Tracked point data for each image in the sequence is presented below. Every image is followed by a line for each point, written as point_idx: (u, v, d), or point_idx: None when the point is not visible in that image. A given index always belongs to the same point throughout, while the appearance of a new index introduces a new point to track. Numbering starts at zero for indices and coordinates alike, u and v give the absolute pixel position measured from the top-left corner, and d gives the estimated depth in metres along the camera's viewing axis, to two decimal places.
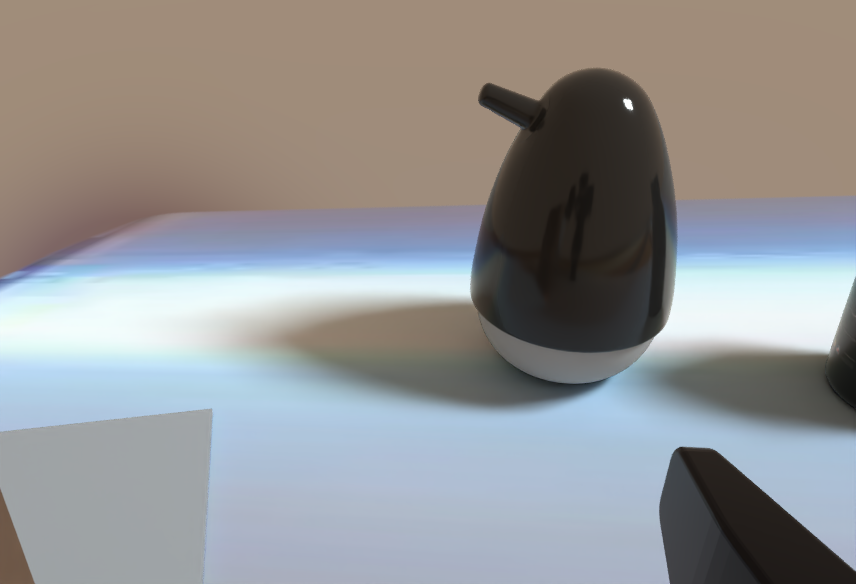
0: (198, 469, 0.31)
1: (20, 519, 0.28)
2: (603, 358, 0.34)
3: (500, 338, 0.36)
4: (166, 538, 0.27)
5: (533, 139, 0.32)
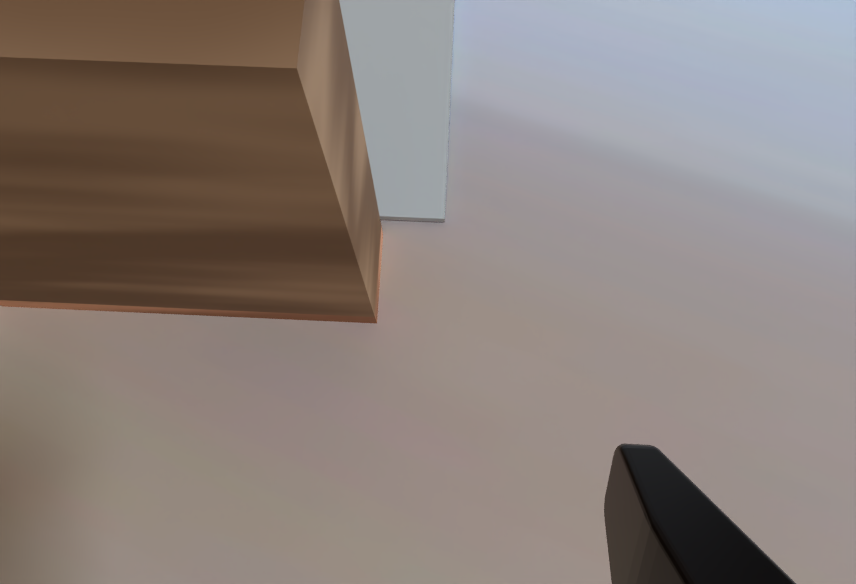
0: None
1: None
2: None
3: None
4: None
5: None
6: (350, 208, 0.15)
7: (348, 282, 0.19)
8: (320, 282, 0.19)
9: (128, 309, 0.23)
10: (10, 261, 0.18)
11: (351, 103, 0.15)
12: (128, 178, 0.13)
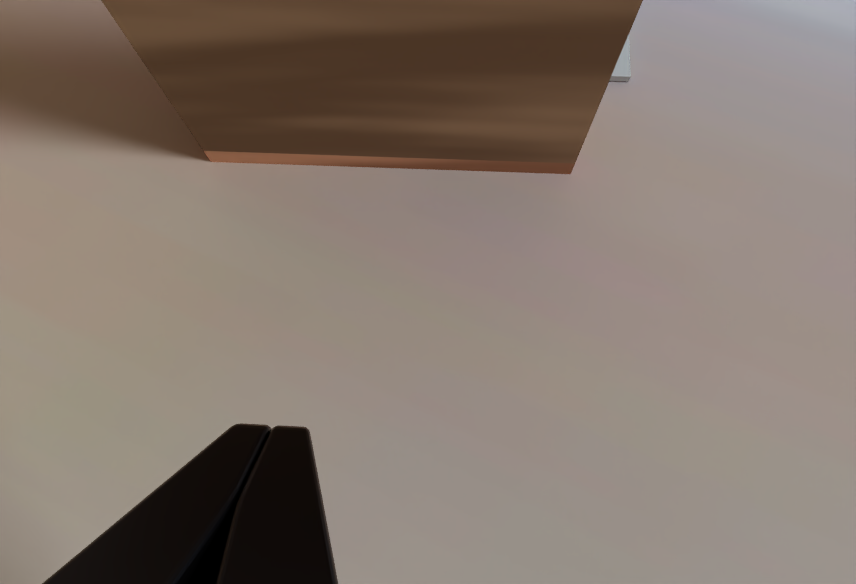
0: None
1: None
2: None
3: None
4: None
5: None
6: None
7: (583, 105, 0.20)
8: (554, 107, 0.20)
9: (334, 161, 0.24)
10: (267, 85, 0.20)
11: None
12: None
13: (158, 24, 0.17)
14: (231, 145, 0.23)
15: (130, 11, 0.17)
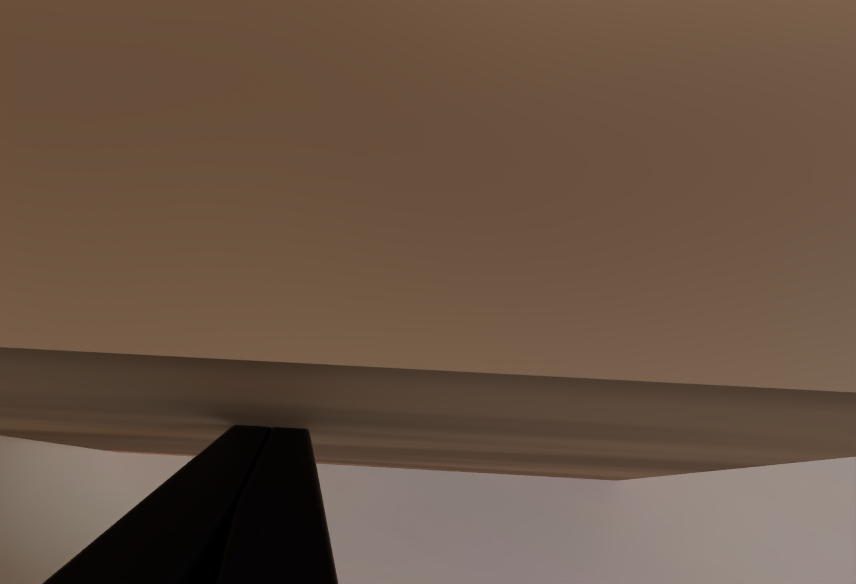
0: None
1: None
2: None
3: None
4: None
5: None
6: None
7: (652, 473, 0.13)
8: (607, 471, 0.13)
9: None
10: (167, 444, 0.13)
11: None
12: (488, 434, 0.07)
13: None
14: (138, 451, 0.16)
15: None
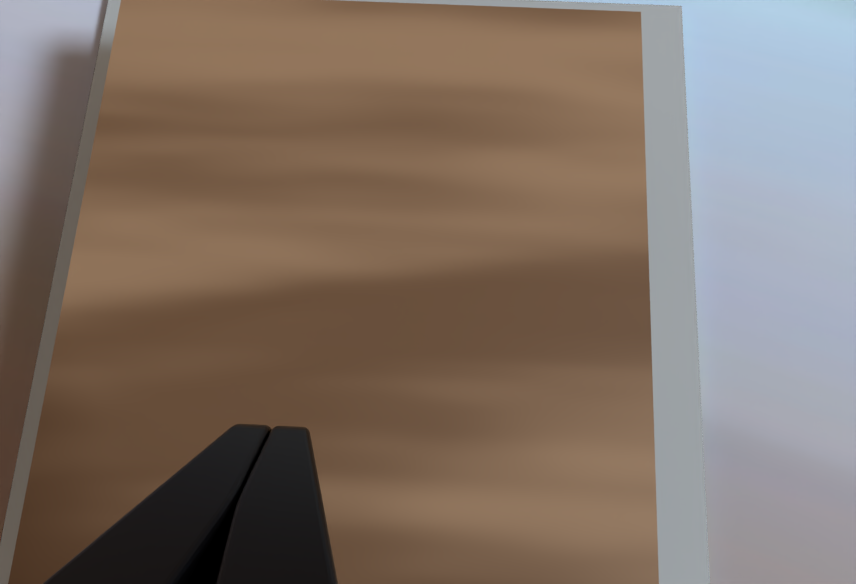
0: (672, 135, 0.19)
1: None
2: None
3: None
4: None
5: None
6: None
7: (633, 439, 0.14)
8: (593, 445, 0.14)
9: None
10: (196, 390, 0.14)
11: None
12: (471, 151, 0.16)
13: (116, 263, 0.15)
14: None
15: (98, 242, 0.15)
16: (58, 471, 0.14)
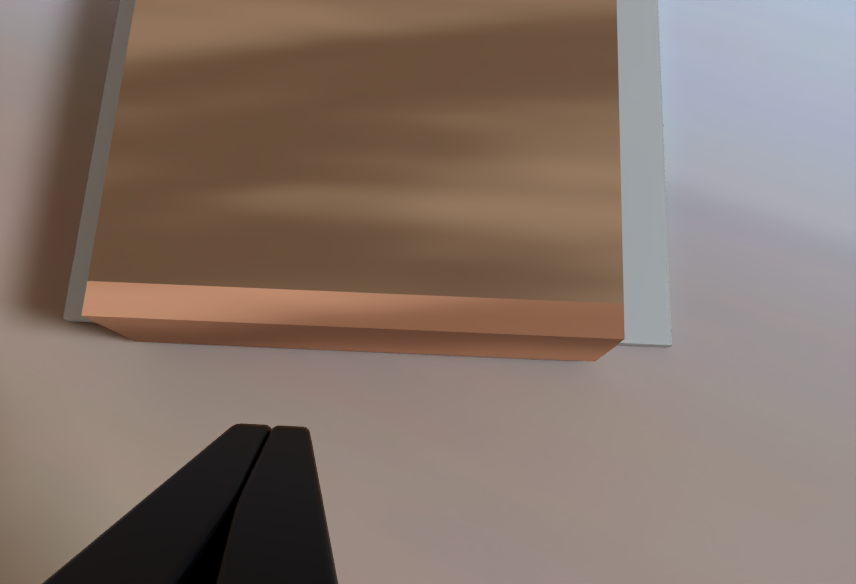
0: None
1: None
2: None
3: None
4: None
5: None
6: None
7: (602, 155, 0.17)
8: (570, 160, 0.17)
9: (271, 309, 0.16)
10: (240, 122, 0.17)
11: None
12: None
13: (170, 25, 0.18)
14: (136, 263, 0.16)
15: (154, 9, 0.18)
16: (127, 183, 0.17)
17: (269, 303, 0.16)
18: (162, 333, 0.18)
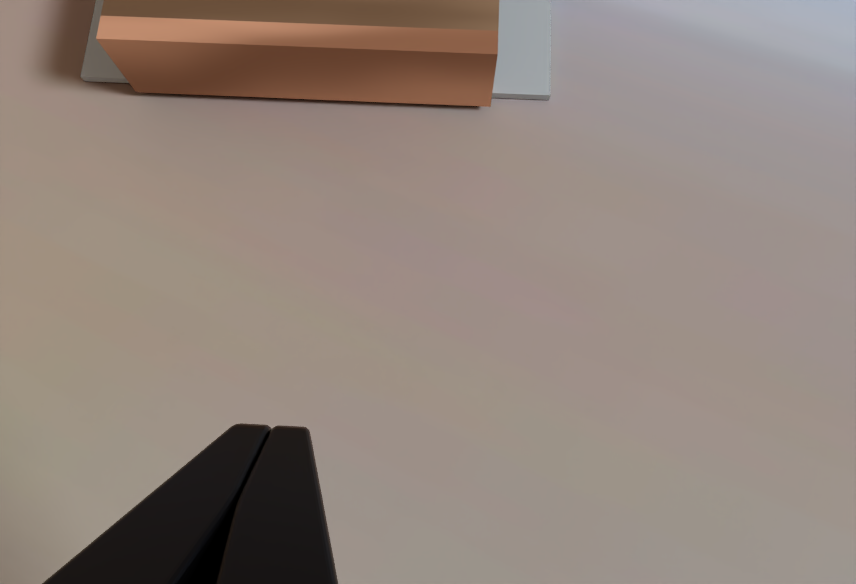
0: None
1: None
2: None
3: None
4: None
5: None
6: None
7: None
8: None
9: (236, 34, 0.22)
10: None
11: None
12: None
13: None
14: (136, 4, 0.22)
15: None
16: None
17: (235, 30, 0.22)
18: (156, 72, 0.23)
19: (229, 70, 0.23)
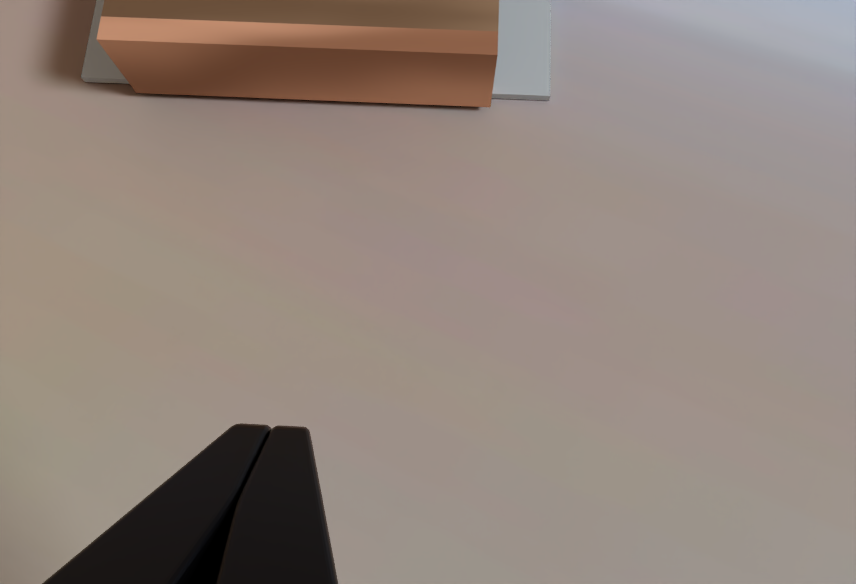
0: None
1: None
2: None
3: None
4: None
5: None
6: None
7: None
8: None
9: (236, 35, 0.22)
10: None
11: None
12: None
13: None
14: (137, 4, 0.22)
15: None
16: None
17: (235, 31, 0.22)
18: (156, 73, 0.23)
19: (229, 71, 0.23)
